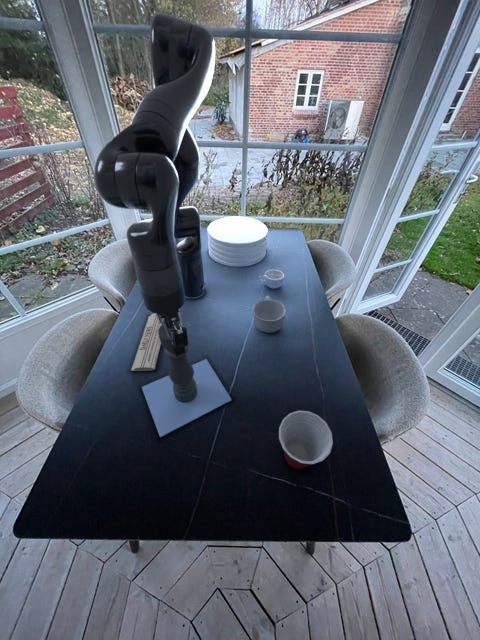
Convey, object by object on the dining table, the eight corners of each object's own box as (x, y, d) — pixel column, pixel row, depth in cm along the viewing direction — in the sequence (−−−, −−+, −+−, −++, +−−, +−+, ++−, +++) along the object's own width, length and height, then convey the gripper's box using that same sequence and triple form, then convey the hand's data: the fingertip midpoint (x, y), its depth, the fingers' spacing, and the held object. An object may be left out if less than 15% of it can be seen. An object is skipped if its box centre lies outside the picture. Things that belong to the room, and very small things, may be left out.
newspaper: (155, 370, 78) (153, 367, 77) (130, 371, 78) (129, 367, 77) (168, 316, 95) (167, 312, 94) (148, 316, 95) (147, 312, 94)
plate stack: (215, 235, 142) (214, 214, 134) (267, 240, 139) (269, 218, 131) (202, 263, 122) (200, 240, 114) (263, 269, 119) (265, 246, 111)
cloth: (141, 387, 74) (141, 387, 74) (206, 359, 82) (206, 358, 82) (160, 437, 64) (159, 437, 64) (231, 400, 72) (231, 399, 72)
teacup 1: (282, 280, 113) (284, 270, 109) (282, 291, 108) (284, 280, 104) (258, 279, 114) (259, 268, 110) (258, 289, 108) (259, 278, 104)
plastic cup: (269, 434, 66) (274, 411, 57) (311, 431, 66) (323, 407, 58) (277, 484, 58) (285, 465, 49) (325, 480, 59) (341, 460, 50)
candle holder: (201, 386, 74) (191, 323, 57) (191, 406, 70) (177, 344, 53) (181, 380, 76) (166, 316, 58) (170, 398, 72) (150, 336, 54)
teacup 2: (281, 339, 89) (284, 322, 83) (249, 334, 90) (250, 317, 84) (284, 312, 98) (287, 295, 93) (255, 308, 100) (257, 291, 94)
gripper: (197, 297, 44) (204, 359, 56) (167, 257, 53) (179, 318, 65) (152, 312, 41) (170, 374, 53) (129, 267, 50) (148, 329, 62)
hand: (175, 343), depth 59 cm, fingers closed on candle holder, 5 cm apart
